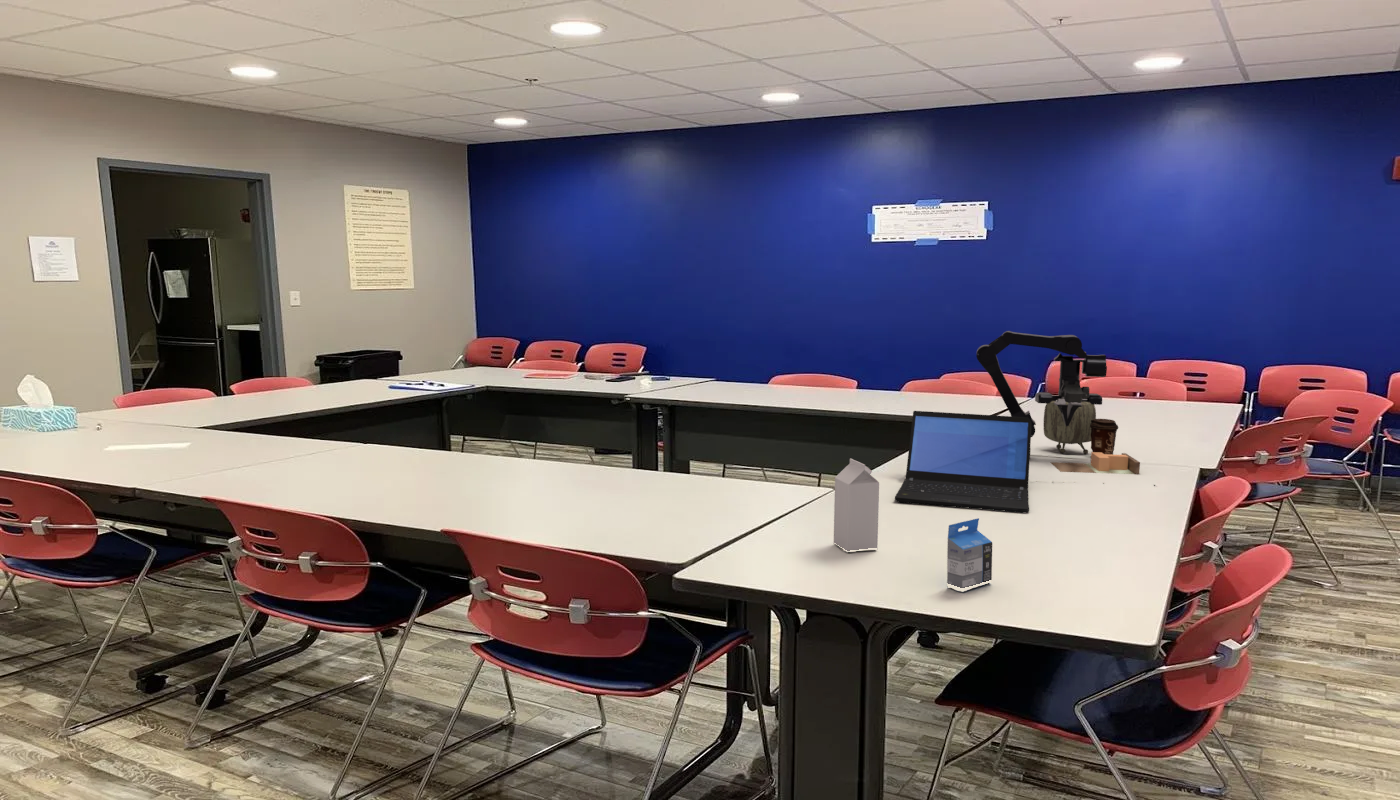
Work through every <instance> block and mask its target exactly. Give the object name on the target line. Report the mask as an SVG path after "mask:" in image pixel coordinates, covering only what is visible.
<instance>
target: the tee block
mask: <svg viewBox="0 0 1400 800" xmlns="http://www.w3.org/2000/svg"><path fill="white" fill-rule="evenodd" d="M1090 455H1091V457H1090V464H1091V466H1093V467H1094V468H1095V469H1096V470H1098V471H1109V469H1112V470H1128V456H1126V455H1122V454H1114V453H1113V454H1103V453H1102V452H1092V451H1091V453H1090Z"/></svg>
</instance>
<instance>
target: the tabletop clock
mask: <svg viewBox="0 0 1400 800" xmlns="http://www.w3.org/2000/svg"><path fill="white" fill-rule="evenodd" d="M1054 402H1055V401H1052V402H1050V403H1049V404H1048V403H1045V406H1044V412H1043V435H1044V437H1045V438H1047V439H1048V440H1050V441H1052V442H1055V443H1056V442H1057V443H1058V444H1056V445H1055V447H1056V449H1058V450H1059V452H1060V454H1065V453H1066V449H1065V447H1066V444H1067V445H1075V444H1077V445H1079V446H1080V447H1081V449H1082V453H1083V454H1084V455H1088V454H1089V449H1086V447H1085V446H1084V445H1083V444H1084V443H1085V444H1086V443H1088V442H1090V443H1091V427H1090V424H1091V420H1093V419H1097V412H1096V406H1095V404H1091V403H1090V402H1082V403H1081V405H1082V407H1078V409H1077V410H1076V411H1075V413H1074V415H1073V417H1072V419H1071V422H1070V424H1069V426H1065V424H1064V421H1063V417H1062V414H1061V412H1060V410H1059V407H1058V406H1056V405H1055V404H1054ZM1066 404H1067V405H1068V403H1067V402H1066ZM1067 410H1068V407H1067ZM1061 444H1062V445H1061Z"/></svg>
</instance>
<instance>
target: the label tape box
mask: <svg viewBox="0 0 1400 800" xmlns="http://www.w3.org/2000/svg"><path fill="white" fill-rule="evenodd" d="M979 520H980V518H978V517H977V518H974V519H969V520H965V521H960V522H957V523H953V524H949V525H948V531H947V548H946V549H947V551H946V552H947V553H946V554H947V556H946V557H947V559H946V560H947V561H946V562H947V563H946V564H947V566H946V569H947V571H946V572H947V573H946V578H947V579H946V583H948V584H951V585H954V586H957V587H960V588H965V587H969V586H973V585H976V584H980V583H982V582H986V581H989V580H992V578H993V577H992V576H993V572H992V571H993V541H992V540H990V539H989V538H987V537H986V535H984V534H983V533H982V532H980V531H979V530H978V528H979ZM963 527H965V528H967V529H964V530H960V529H962V528H963ZM959 530H960V531H959ZM992 581H993V580H992Z"/></svg>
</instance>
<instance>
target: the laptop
mask: <svg viewBox="0 0 1400 800" xmlns="http://www.w3.org/2000/svg"><path fill="white" fill-rule="evenodd" d="M1031 438H1032V437H1031V421H1030V420H1029V418H1027V417H1012V416H1011V415H1010V416H1009V415H993V414H979V413H978V414H977V413H958V412H956V413H955V412H941V411H926V410H925V411H922V410H913V412H912V419H911V429H910V437H909V443H908V444H909V446H908V455H907V465H906V472H905V479H904V480H903V482H902V484H901V486H900V487H899V489H898V491H897V493H896V494H895V496H894V500H895V501H896V502H898V503H901V502H905V503H904V504H912V503H919V504H918V505H927V504H931V505H930V506H938V505H943V506H942V507H948V506H956V507H955V508H960V507H969V508H968V509H972V508H982V509H981V510H983V509H994V510H993V511H995V510H1005V511H1004V512H1007V511H1016V512H1015V513H1017V512H1026V513H1028V512H1030V505H1029V481H1030V479H1029V476H1030V460H1031V450H1030V448H1031V444H1032V443H1031V441H1032V439H1031Z"/></svg>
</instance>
